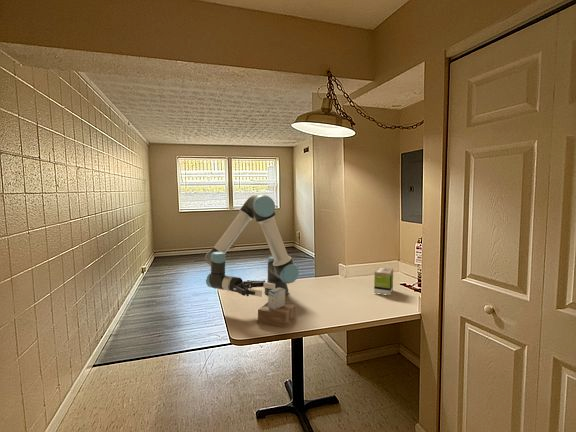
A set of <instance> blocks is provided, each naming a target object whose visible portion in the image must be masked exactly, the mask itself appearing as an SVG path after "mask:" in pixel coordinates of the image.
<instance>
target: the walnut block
mask: <svg viewBox="0 0 576 432" xmlns="http://www.w3.org/2000/svg"><path fill="white" fill-rule="evenodd" d="M295 315H296V304H294V303H286V302H285V306H283V307H280V308H278V309H275V310H273V309H270V308H268V301H267V302H266V303H265V304H264V305H263V306H261V307H260V308H258V309H257V324H258V325H259V324H260V325H265V326H269V327H270V326H271V327H276V328H283V329H286V328H287V327H288V326H289V324H291V322H292V321H293V320H294V319H295V318H296V316H295Z"/></svg>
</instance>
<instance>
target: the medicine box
mask: <svg viewBox="0 0 576 432" xmlns="http://www.w3.org/2000/svg"><path fill="white" fill-rule="evenodd" d="M267 296H268V297H267V298H268V299H267V302H268V308H270V309H273V310H275V309H278V308H280V307H283V306H285V303H286V295H285V289H283V288H275V289H272V290H269V293H268V295H267Z"/></svg>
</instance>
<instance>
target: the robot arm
mask: <svg viewBox="0 0 576 432" xmlns="http://www.w3.org/2000/svg"><path fill="white" fill-rule="evenodd" d="M275 209H276V205H275V201H274V200H273V198H272V197H270V196H269V195H265V194H254V195H251V196H250V197H248V198H247V199H246V201H245V202H244V203H243V205H242V206H241V207H240V209H239V213H238V214H237V216H236V217H235V218H234V219H233V221H232V222H231V223H230V225H229V226H228V228H227V229H226V230H225V231H224V233H223V235H222V236H221V237H220V238H219V240H218V241H217V242H216V243H215V245H214V246H213V247H212V249H211V250H210V251H207V253H206V254H205V257H204V259H205V262H206V263H207V264H208V265H210V273H209V274H208V275H207V276H206V279H205V284H206V286H207V287H209V288H213V289H217V290H222V291H227V292H233V293H237V294H240V295H241V296H243V297H245V296H246V297H250V296H254V297H260V298H261V297H262V296H263V290H259V289H253V288H264V294H265V295H267V296H268V293H269V290H272V289H275V288H283V289H285V296H287V295H288V294H289V287H288V285H289V284H292V283H295V282H296V280H297V279H298V277H299V275H300V269H299V268H298V266H297V265H296V264H295V263H294V260H293V259H292V256H290V255H288V252H287V249H286V246H285V245H284V244H285V243H284V241H283V239H282V235H281V233H280V231H279V228H278V225H277V221H276V219H275V218H276V211H275ZM254 219H255V221H256V223H258V224H259V225H260V227H261V230H262V233H263V234H264V238H265V240H266V243H267V245H268V247H269V251H270V254H271V256H270V257H268V258H267V280H263V279H262V280H250V279H248V280H246V281H245V280H244V281H243V278H241V277H237V276H231V275H226V259H227V258H226V253H227V252H228V250H229V249H230V248H231V246H232V245H233V244H234V242H235V241H236V240H237V238H239V235H240V234H241V233H242V232H243V230H244V229H245V228H246V226H247V225H248V224H249V222H250V221H253V220H254Z"/></svg>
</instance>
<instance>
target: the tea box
mask: <svg viewBox="0 0 576 432" xmlns="http://www.w3.org/2000/svg"><path fill="white" fill-rule="evenodd" d="M373 285H374V286H373V289H374V290H373V294H374V293H380V294H386V295H390V296H391V295H392V293H393V291H394V268H387V267H378V268H377V269H376V270H375V271H374V284H373ZM392 290H393V291H392ZM391 292H392V293H391Z"/></svg>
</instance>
